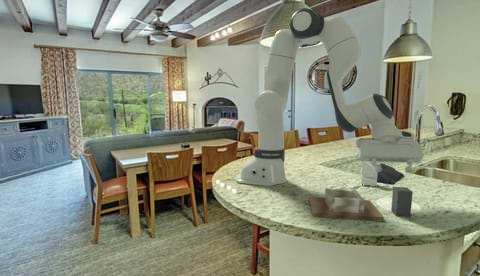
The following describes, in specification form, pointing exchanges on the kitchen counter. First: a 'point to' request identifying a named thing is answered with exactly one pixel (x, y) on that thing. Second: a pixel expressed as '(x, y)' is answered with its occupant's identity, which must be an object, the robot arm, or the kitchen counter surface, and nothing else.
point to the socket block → (344, 206)
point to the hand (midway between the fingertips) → (394, 171)
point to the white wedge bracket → (368, 175)
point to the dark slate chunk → (388, 174)
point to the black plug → (401, 201)
